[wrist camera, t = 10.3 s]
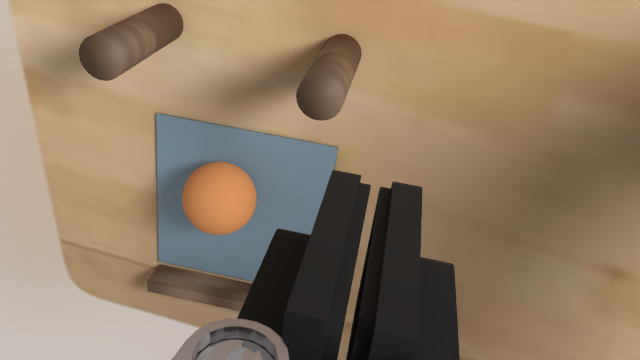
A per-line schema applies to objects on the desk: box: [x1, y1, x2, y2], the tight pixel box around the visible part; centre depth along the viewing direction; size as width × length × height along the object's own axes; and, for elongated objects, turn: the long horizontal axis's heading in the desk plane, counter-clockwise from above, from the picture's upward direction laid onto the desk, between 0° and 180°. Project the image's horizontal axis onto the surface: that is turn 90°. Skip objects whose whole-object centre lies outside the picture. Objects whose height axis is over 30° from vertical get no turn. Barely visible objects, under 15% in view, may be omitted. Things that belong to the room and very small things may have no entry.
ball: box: [182, 162, 257, 235], centre depth 43 cm, size 6×6×6 cm
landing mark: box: [156, 113, 338, 281], centre depth 46 cm, size 14×14×1 cm
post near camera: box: [79, 3, 183, 81], centre depth 36 cm, size 3×3×9 cm
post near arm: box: [296, 34, 361, 120], centre depth 35 cm, size 3×3×9 cm
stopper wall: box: [147, 265, 252, 311], centre depth 49 cm, size 14×1×2 cm, turn 83°
